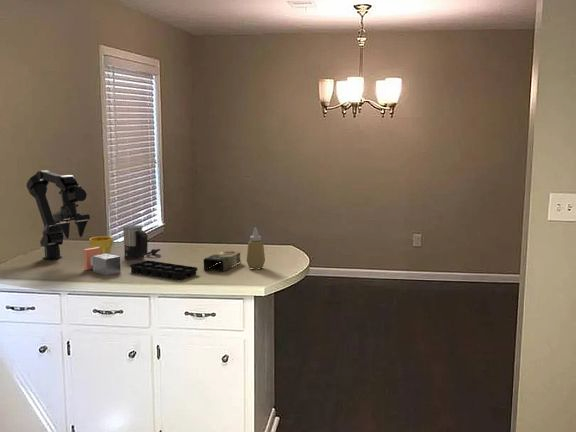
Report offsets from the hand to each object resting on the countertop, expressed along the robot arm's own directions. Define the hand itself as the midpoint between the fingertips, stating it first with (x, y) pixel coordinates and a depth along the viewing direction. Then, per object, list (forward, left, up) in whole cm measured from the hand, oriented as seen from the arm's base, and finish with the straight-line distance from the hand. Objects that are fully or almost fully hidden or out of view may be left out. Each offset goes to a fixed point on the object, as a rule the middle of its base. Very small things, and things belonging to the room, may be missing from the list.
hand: (74, 237), depth 305 cm
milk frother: (+18, +26, -12) cm, 33 cm away
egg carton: (+48, +1, -13) cm, 49 cm away
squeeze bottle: (+79, +26, -12) cm, 84 cm away
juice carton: (+64, +23, -13) cm, 69 cm away
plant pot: (+4, +13, -12) cm, 19 cm away
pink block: (+18, -5, -12) cm, 22 cm away
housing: (+24, -7, -12) cm, 28 cm away
